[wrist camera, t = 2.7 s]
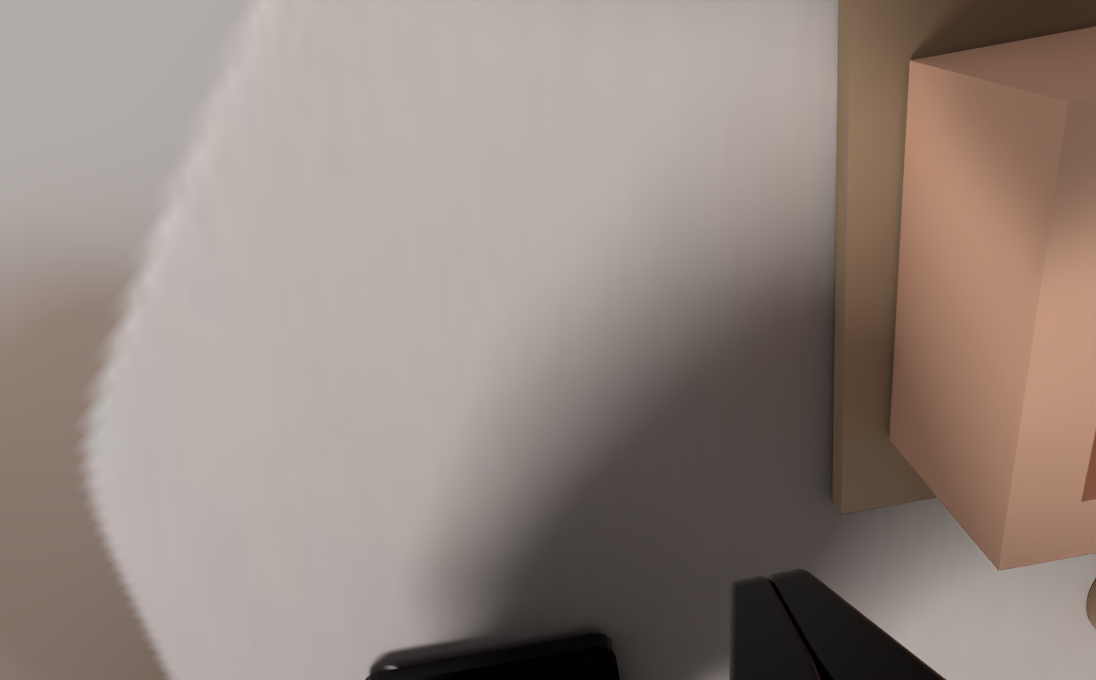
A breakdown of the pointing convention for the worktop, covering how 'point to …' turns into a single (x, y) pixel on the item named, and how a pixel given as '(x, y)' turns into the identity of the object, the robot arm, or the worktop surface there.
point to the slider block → (1002, 294)
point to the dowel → (1092, 605)
